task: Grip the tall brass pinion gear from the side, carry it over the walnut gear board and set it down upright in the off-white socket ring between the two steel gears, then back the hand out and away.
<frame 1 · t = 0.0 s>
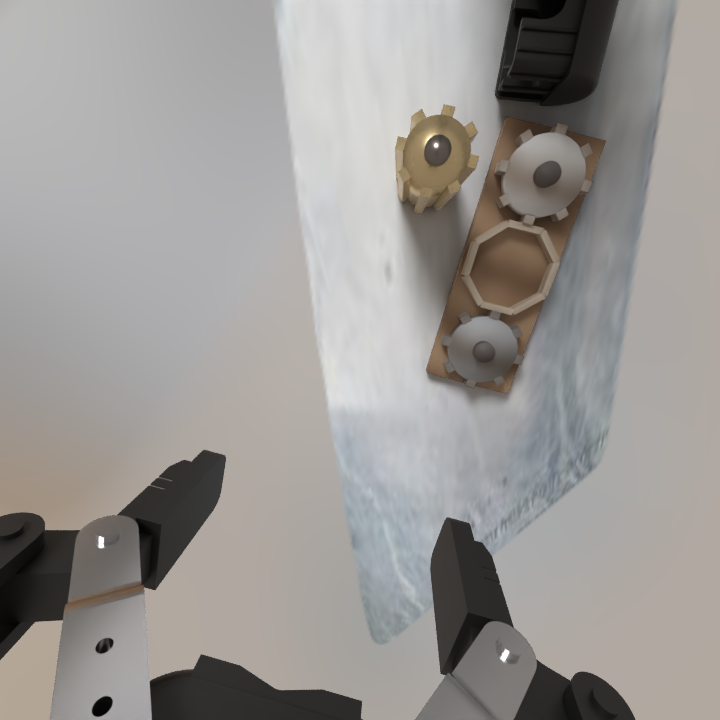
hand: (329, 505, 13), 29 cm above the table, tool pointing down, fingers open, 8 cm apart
gear board: (504, 268, 38), on the table
end cap: (544, 44, 33), on the table
pinion: (425, 182, 36), on the table
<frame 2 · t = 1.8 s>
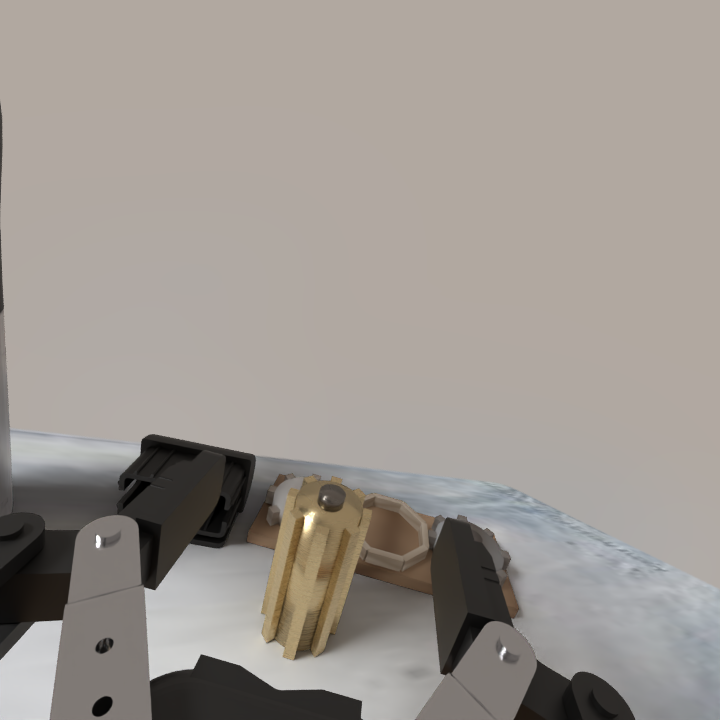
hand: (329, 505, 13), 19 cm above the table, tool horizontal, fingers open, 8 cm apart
gear board: (381, 542, 38), on the table
end cap: (187, 513, 35), on the table
pinion: (299, 618, 28), on the table
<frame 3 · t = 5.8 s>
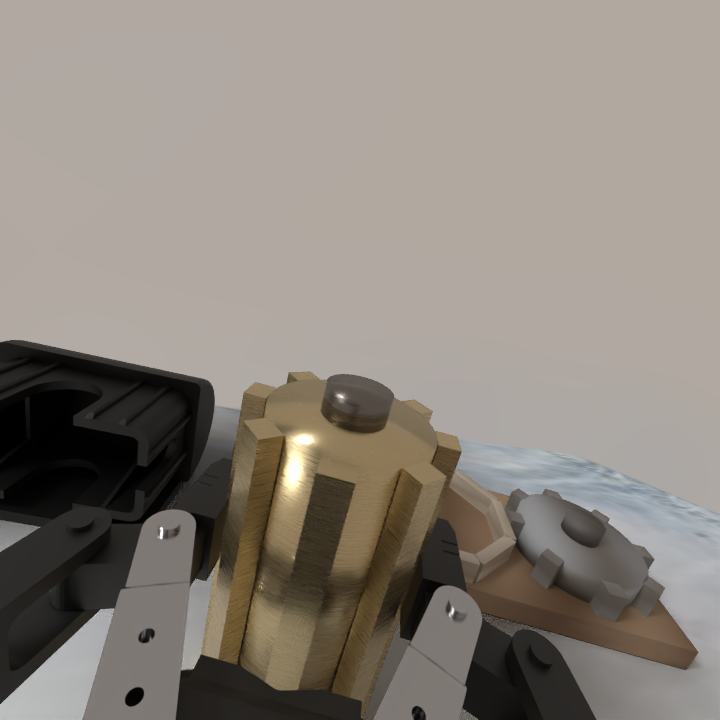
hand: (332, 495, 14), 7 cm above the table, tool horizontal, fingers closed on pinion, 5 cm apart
gear board: (426, 532, 22), on the table
end cap: (91, 483, 20), on the table
pinion: (281, 689, 13), on the table, touching gripper
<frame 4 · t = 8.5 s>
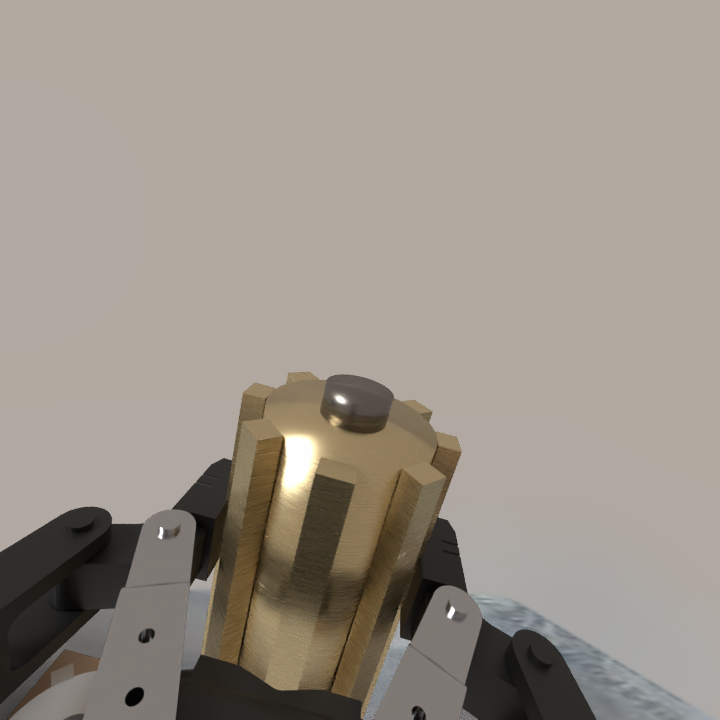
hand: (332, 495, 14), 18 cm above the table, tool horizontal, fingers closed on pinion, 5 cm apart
pinion: (281, 690, 13), point 11 cm above the table, touching gripper
when the fingers open (9 cm above the table, at t = 11.1 s): pinion drops 1 cm, resting on gear board.
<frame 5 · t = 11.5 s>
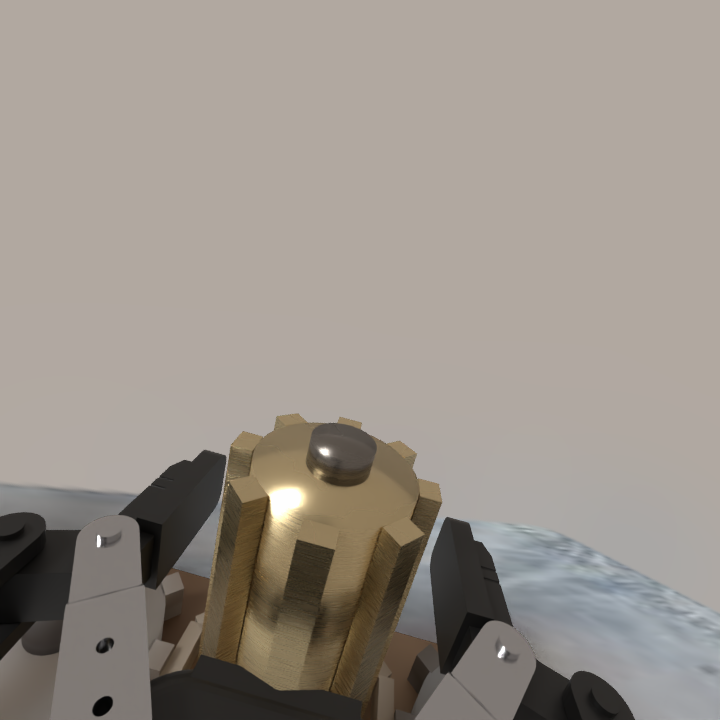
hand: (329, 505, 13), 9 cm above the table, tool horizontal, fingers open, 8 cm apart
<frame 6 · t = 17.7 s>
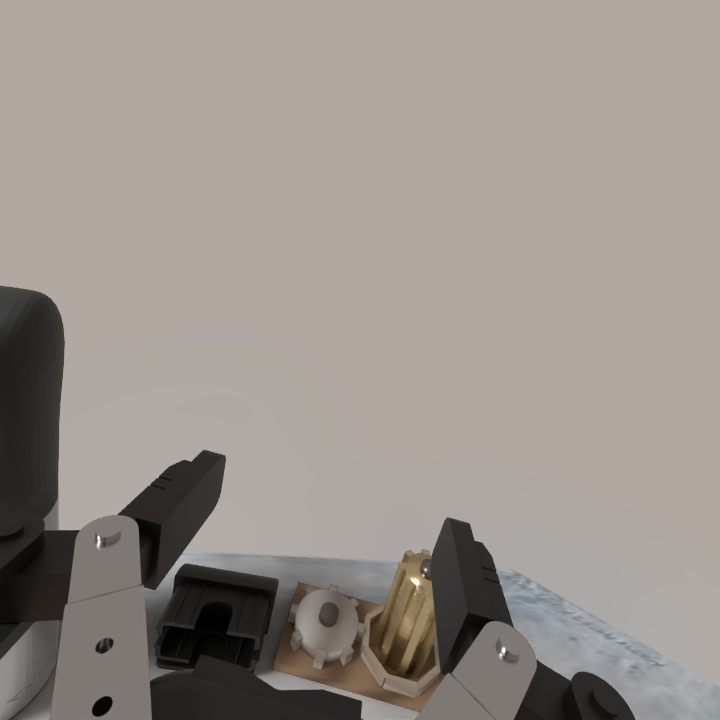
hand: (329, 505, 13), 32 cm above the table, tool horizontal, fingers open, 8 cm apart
gear board: (396, 656, 40), on the table
end cap: (216, 637, 38), on the table
pinion: (398, 649, 40), point 1 cm above the table, touching gear board
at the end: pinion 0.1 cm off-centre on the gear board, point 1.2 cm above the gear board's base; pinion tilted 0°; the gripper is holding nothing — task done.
